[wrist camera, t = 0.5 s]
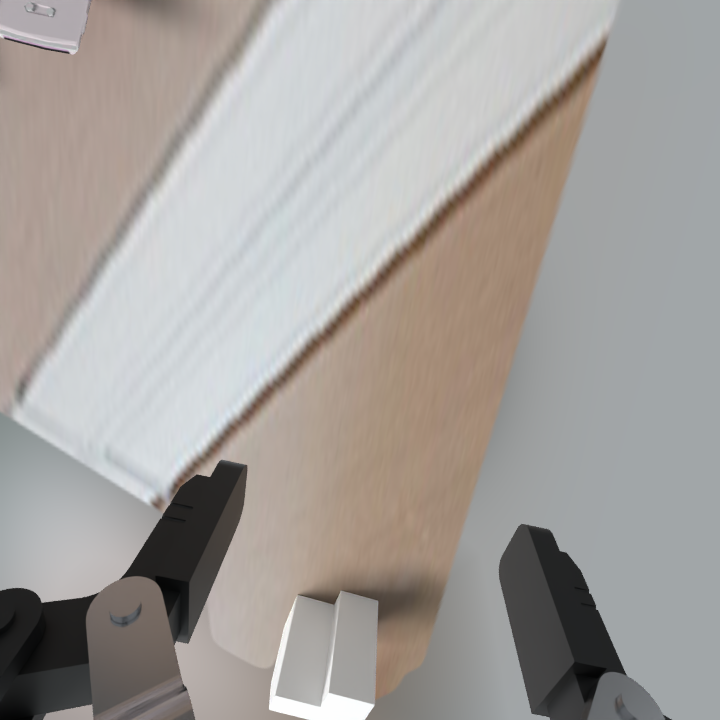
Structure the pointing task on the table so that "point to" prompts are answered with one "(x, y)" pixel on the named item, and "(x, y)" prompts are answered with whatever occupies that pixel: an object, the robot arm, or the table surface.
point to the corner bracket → (327, 659)
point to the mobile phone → (45, 23)
